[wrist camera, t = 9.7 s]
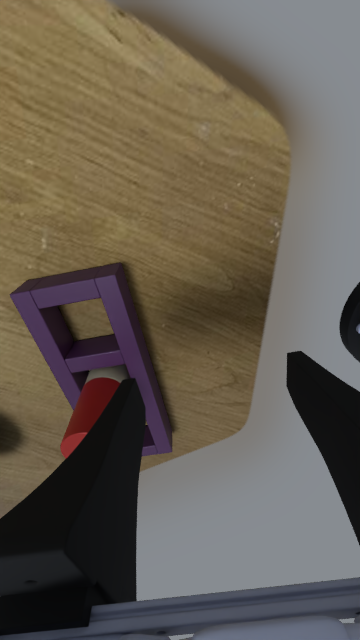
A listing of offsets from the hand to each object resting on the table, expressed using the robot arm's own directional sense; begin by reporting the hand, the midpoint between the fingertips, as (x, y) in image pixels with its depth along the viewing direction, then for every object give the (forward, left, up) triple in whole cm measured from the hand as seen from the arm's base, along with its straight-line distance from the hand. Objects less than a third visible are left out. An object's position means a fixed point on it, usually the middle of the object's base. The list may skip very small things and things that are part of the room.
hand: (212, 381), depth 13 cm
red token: (+2, +10, -6) cm, 12 cm away
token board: (+2, +10, -9) cm, 14 cm away
